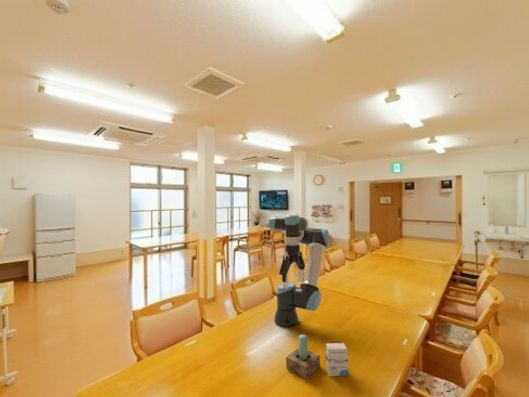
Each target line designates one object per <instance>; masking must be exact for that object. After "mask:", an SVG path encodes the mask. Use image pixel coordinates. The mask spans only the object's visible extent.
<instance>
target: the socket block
mask: <svg viewBox="0 0 529 397" xmlns="http://www.w3.org/2000/svg"><path fill="white" fill-rule="evenodd" d="M285 359H286V361H285V362H286V364H285V366H286V370H289V371H290V372H292V371H293V373H294V374H296V375H298V376H300V377H302V378H303V379H305V380H308V379H309V378H310V377H312V375H314V373H315V372H316V371H317V370H318V369H320V367H321V355H319V354H317V353H315V352H313V351H311V350H308V360H307V361H306V362H304V361H302V360H300V359H299V347H297V348H296V349H295V350H294V351H292V352H291V353H290V354H288V355H287V356H286V357H285Z"/></svg>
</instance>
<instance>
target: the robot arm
mask: <svg viewBox="0 0 529 397" xmlns="http://www.w3.org/2000/svg"><path fill="white" fill-rule="evenodd" d="M308 223H309V222H308V220H307V218H305V217H303V216H301V217H300V215H298V214H288V215H286V216H270V218H269V219H268V223H267V224H268V228H269V229H270V230H274V231H276V230H277V231H278V232H281V233H283V234H285V240H284V241H285V252H286V253H287V254H285V255H283V256H282V262H281V265H280V269H279V274H278V275H281V278H282V279H281V282H282V283H281V284H279V285H278V286H277V287H276V288H277V289H276V302H277V303H276V311H275V315H274V319H273V320H274V321H273V322H274V323H275V325H277V326H279V327H282V328H292V327H296V326H297V325H298V324H299V320H300V319H299V316H298V312H297V309H301V310H306V311H312V312H315V311H317V310H318V308H319V306H320V305H321V300H322V292H321V291H320V288H319V286H318V283H319V277H320V272H321V271H320V270H321V266H322V261H323V260H322V259H323V254H324V252H325V251H326V250H327V248H328V247H330V245H331V239H330V238H331V236H330V231H329V230H328V229H326V228H313V227H312V228H311V227H308V225H309V224H308ZM300 244H303V245H308V247H309V254H308V257H307V264H305V261H304V258H303V252H302V251H301V245H300ZM293 263H295V264H296V266H297V281H298V282H300V285H299V287H297V286H296V283H295V282H288V279H289V275H288V273H289V270H290V268H291V265H293ZM303 270H305V273H303V272H304V271H303ZM303 274H304V277H303ZM296 308H297V309H296Z"/></svg>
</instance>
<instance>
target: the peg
mask: <svg viewBox="0 0 529 397" xmlns="http://www.w3.org/2000/svg"><path fill="white" fill-rule="evenodd" d="M308 339H309V338H308V335H306V334H299V335H298V348H299V359H300V360H302V361H304V362H306V361H307V360H308V351H309V350H308V349H309V348H308V347H309V346H308V345H309V344H308V341H309V340H308Z"/></svg>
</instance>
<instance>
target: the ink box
mask: <svg viewBox="0 0 529 397" xmlns="http://www.w3.org/2000/svg"><path fill="white" fill-rule="evenodd" d="M348 351H349V350H348V347H347V346H346V344H345V343H344V342H342V343H341V342H340V343H339V342H338V343H335V342H333V343H332V342H331V343H326V344H325V360H326V361H325V362H326V363H325V365H326V367H325V368H326V369H325V370H326V371H327V375H328V377H342V376H343V377H344V376H345V377H346V376H349V358H348V356H349V353H348Z"/></svg>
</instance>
